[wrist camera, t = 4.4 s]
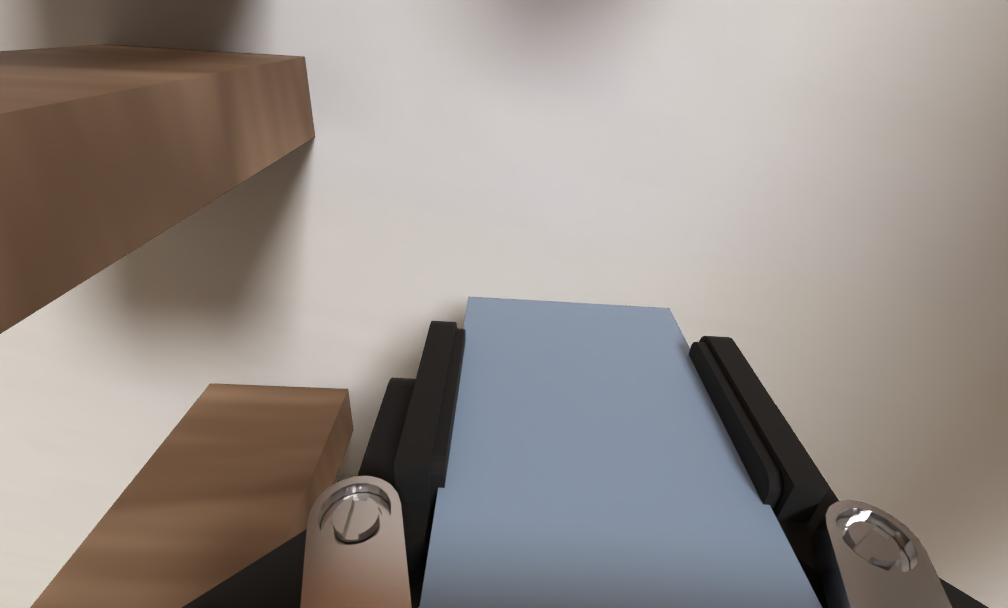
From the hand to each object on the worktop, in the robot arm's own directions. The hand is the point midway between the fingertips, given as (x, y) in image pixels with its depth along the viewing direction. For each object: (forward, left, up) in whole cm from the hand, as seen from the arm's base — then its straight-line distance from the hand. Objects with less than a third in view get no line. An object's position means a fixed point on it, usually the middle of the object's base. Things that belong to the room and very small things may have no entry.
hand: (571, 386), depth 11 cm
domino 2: (+9, +6, -6) cm, 13 cm away
